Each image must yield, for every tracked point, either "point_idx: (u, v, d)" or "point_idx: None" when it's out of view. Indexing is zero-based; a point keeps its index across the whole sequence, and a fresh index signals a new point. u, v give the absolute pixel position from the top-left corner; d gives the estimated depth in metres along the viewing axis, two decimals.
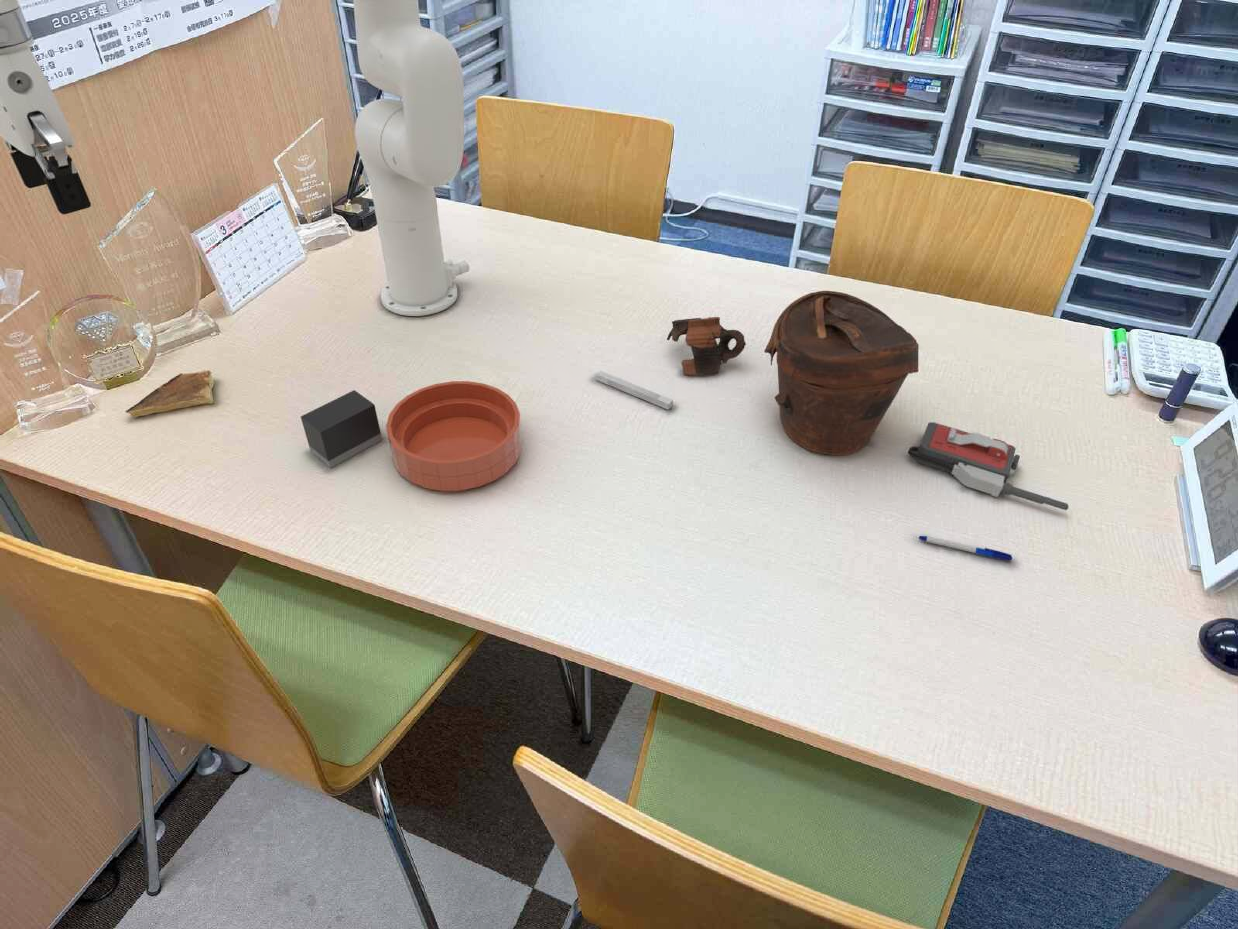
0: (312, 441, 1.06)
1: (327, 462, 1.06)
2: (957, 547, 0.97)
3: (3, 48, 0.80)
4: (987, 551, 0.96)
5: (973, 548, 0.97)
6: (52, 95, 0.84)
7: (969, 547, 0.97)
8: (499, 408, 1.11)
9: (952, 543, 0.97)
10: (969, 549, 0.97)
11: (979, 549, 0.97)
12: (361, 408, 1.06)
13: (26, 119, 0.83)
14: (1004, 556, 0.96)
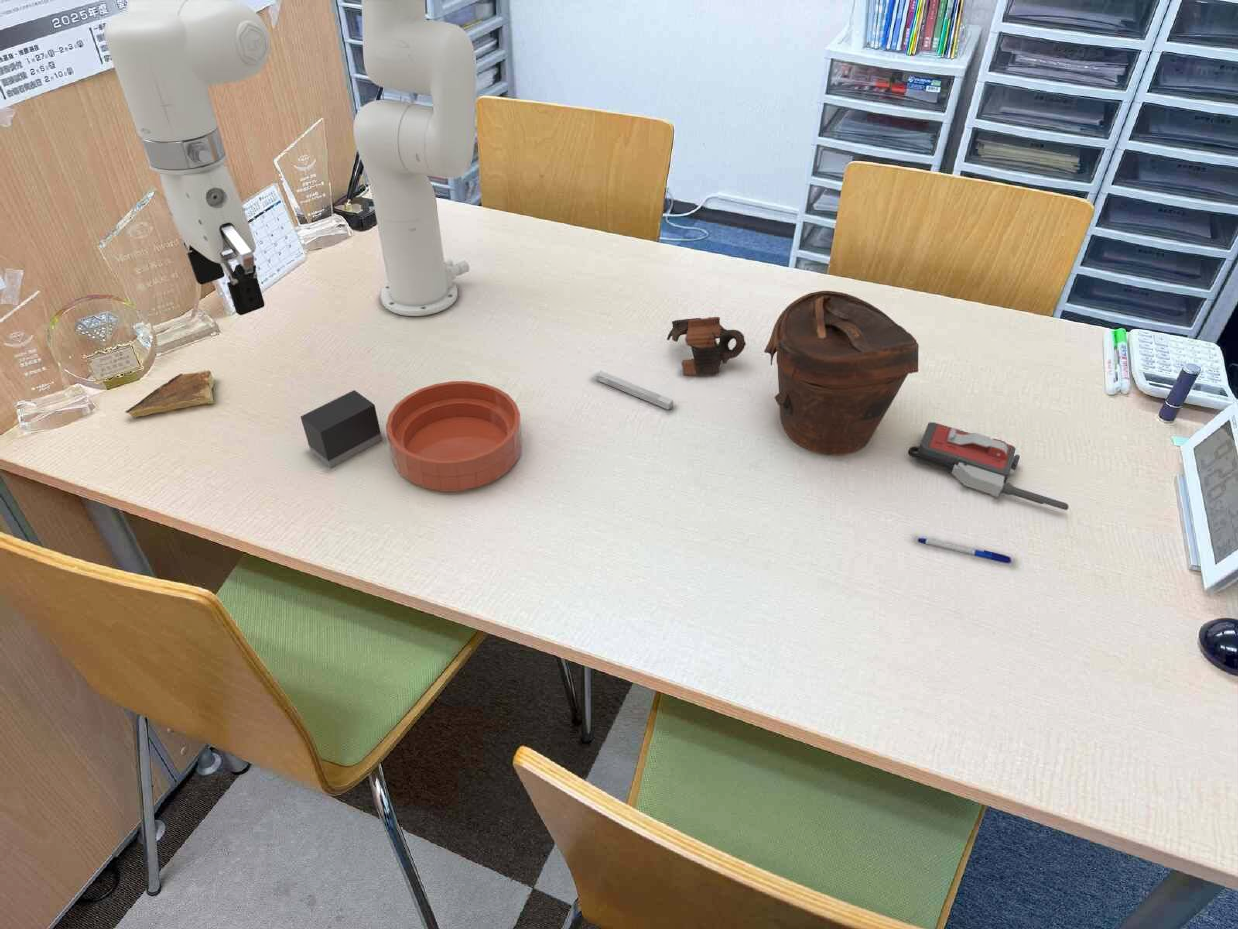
0: (312, 441, 1.06)
1: (327, 462, 1.06)
2: (956, 549, 0.97)
3: (204, 167, 0.84)
4: (986, 553, 0.97)
5: (972, 550, 0.97)
6: (242, 207, 0.88)
7: (968, 549, 0.97)
8: (499, 408, 1.11)
9: (951, 545, 0.97)
10: (968, 551, 0.97)
11: (978, 551, 0.97)
12: (361, 408, 1.06)
13: (218, 231, 0.87)
14: (1003, 558, 0.96)
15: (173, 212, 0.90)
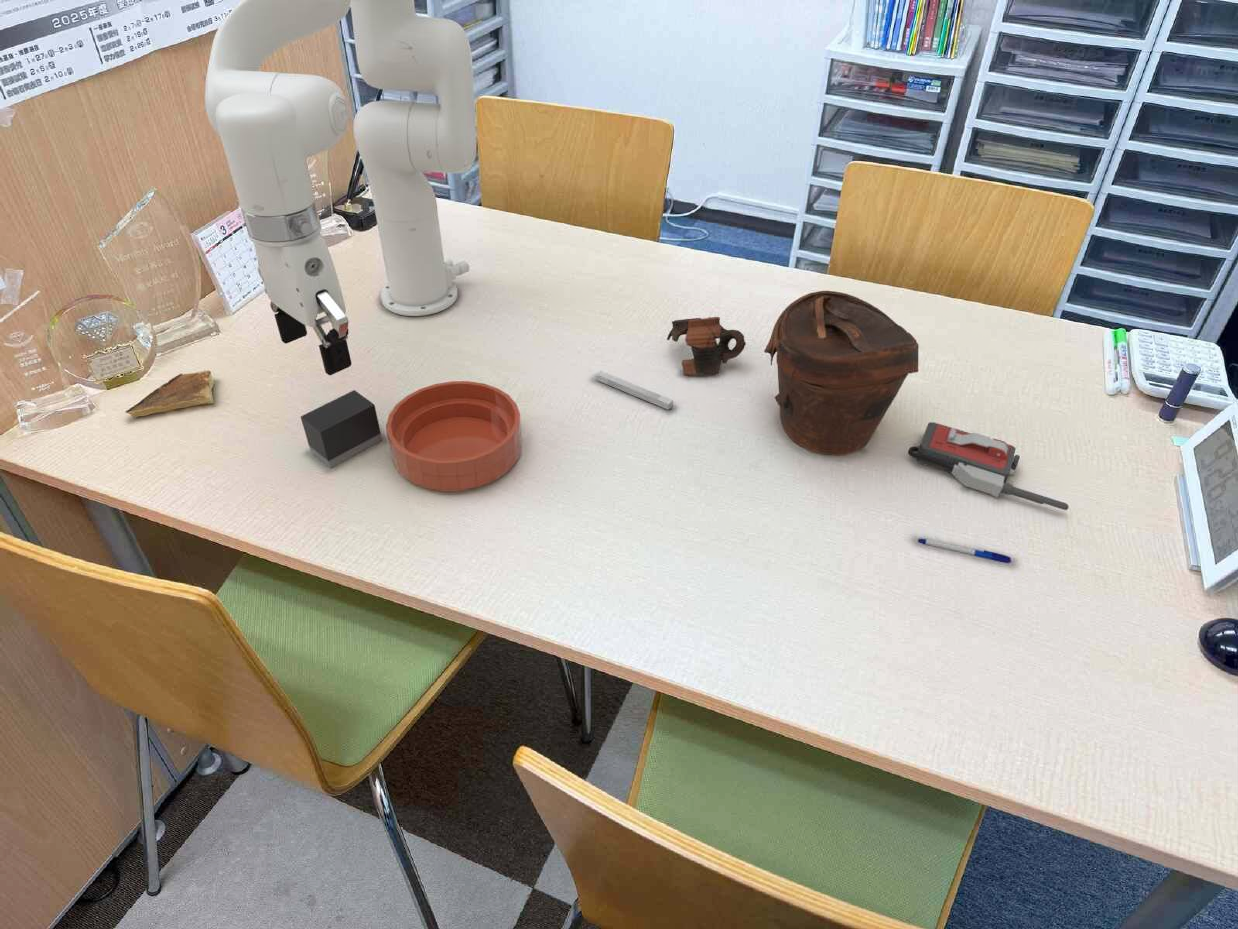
0: (312, 441, 1.06)
1: (327, 462, 1.06)
2: (956, 550, 0.97)
3: (303, 238, 0.87)
4: (986, 553, 0.97)
5: (972, 550, 0.97)
6: (335, 274, 0.91)
7: (968, 549, 0.97)
8: (499, 408, 1.11)
9: (951, 546, 0.97)
10: (968, 551, 0.97)
11: (978, 551, 0.97)
12: (361, 408, 1.06)
13: (314, 298, 0.90)
14: (1003, 558, 0.96)
15: (266, 278, 0.93)
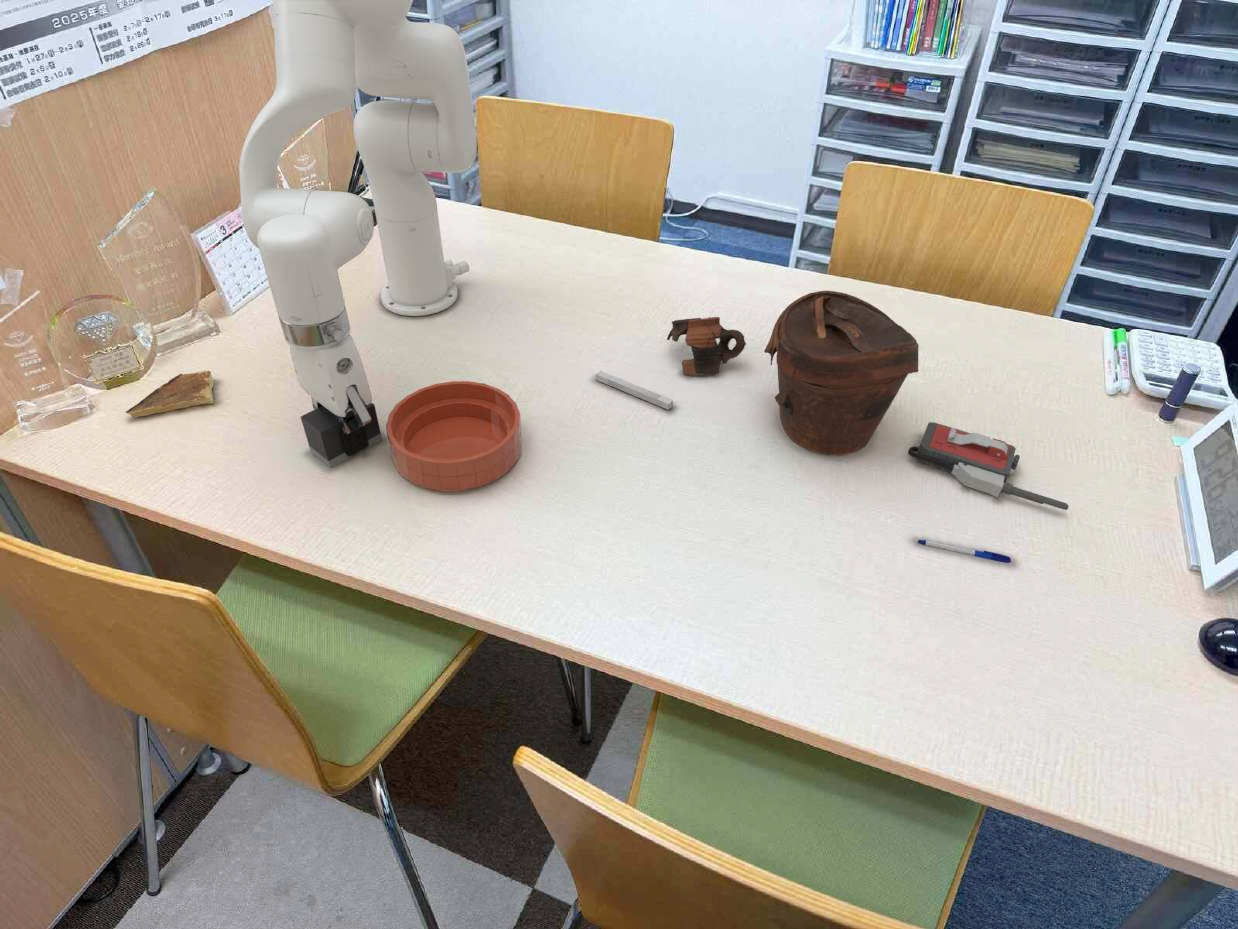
0: (312, 441, 1.06)
1: (327, 462, 1.06)
2: (956, 550, 0.97)
3: (335, 341, 0.96)
4: (986, 554, 0.97)
5: (972, 551, 0.97)
6: (363, 369, 0.99)
7: (968, 550, 0.97)
8: (499, 408, 1.11)
9: (951, 546, 0.97)
10: (968, 552, 0.97)
11: (978, 552, 0.97)
12: None
13: (344, 392, 0.98)
14: (1003, 558, 0.96)
15: (299, 371, 1.01)
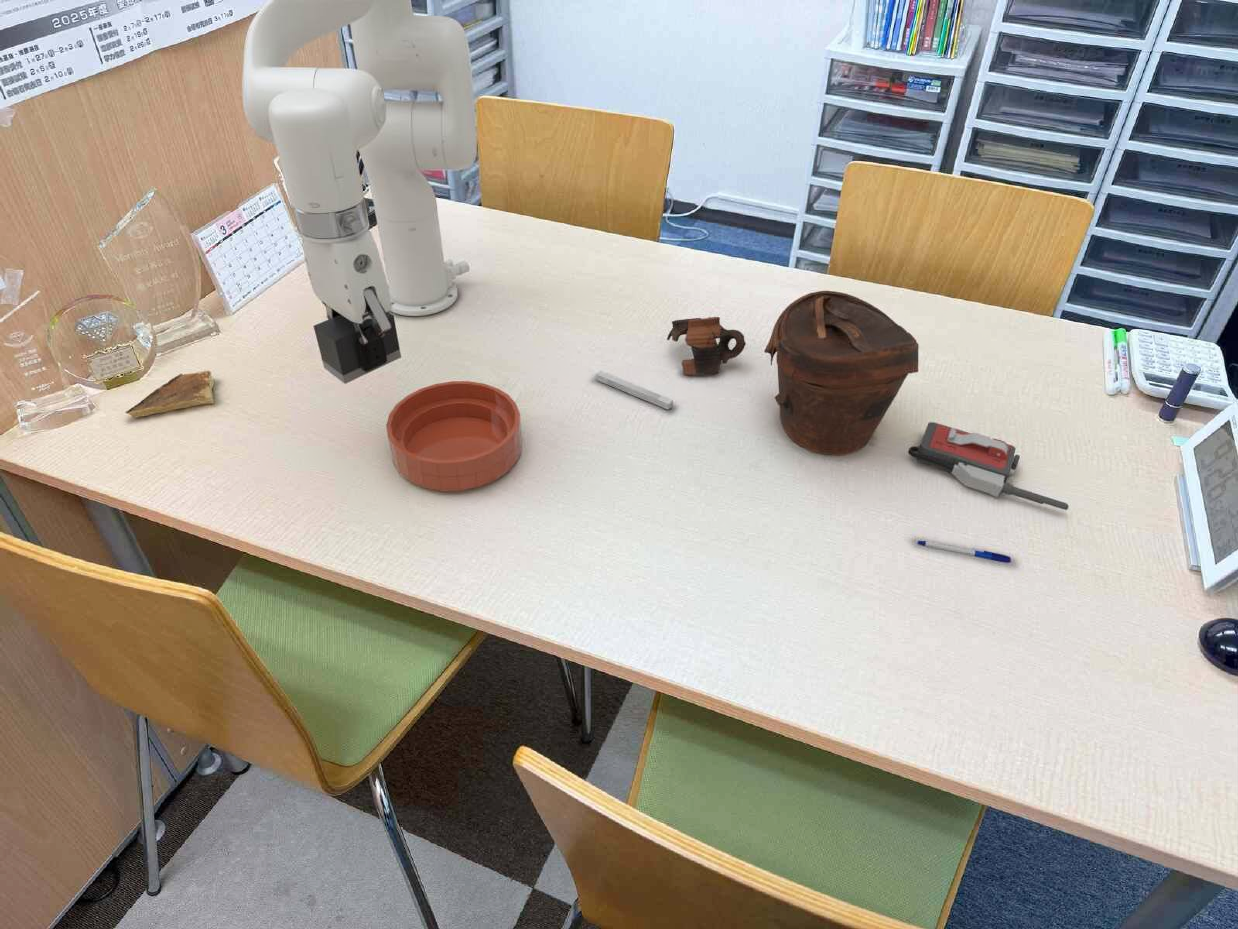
0: (325, 353, 0.97)
1: (341, 377, 0.97)
2: (956, 551, 0.97)
3: (352, 235, 0.87)
4: (986, 554, 0.96)
5: (972, 551, 0.97)
6: (383, 270, 0.91)
7: (968, 550, 0.97)
8: (499, 408, 1.11)
9: (951, 547, 0.97)
10: (968, 552, 0.97)
11: (978, 552, 0.97)
12: None
13: (362, 294, 0.90)
14: (1003, 558, 0.96)
15: (313, 274, 0.93)
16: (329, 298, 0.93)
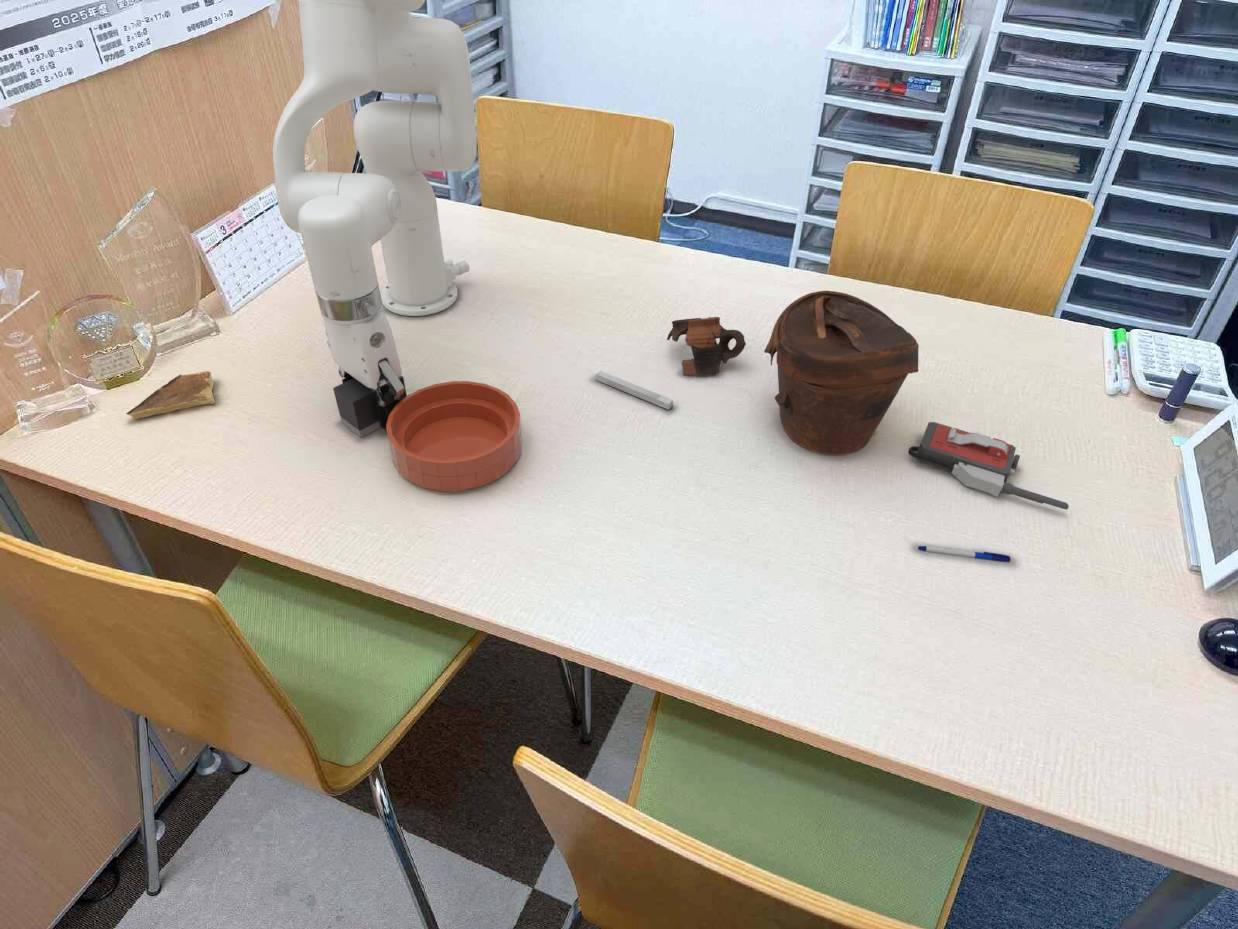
0: (343, 411, 1.10)
1: (358, 432, 1.10)
2: (957, 554, 0.97)
3: (368, 316, 1.01)
4: (986, 555, 0.96)
5: (972, 553, 0.97)
6: (394, 344, 1.05)
7: (968, 552, 0.97)
8: (499, 408, 1.11)
9: (951, 550, 0.97)
10: (968, 554, 0.97)
11: (978, 553, 0.97)
12: None
13: (377, 365, 1.04)
14: (1003, 558, 0.96)
15: (333, 346, 1.07)
16: (347, 366, 1.07)
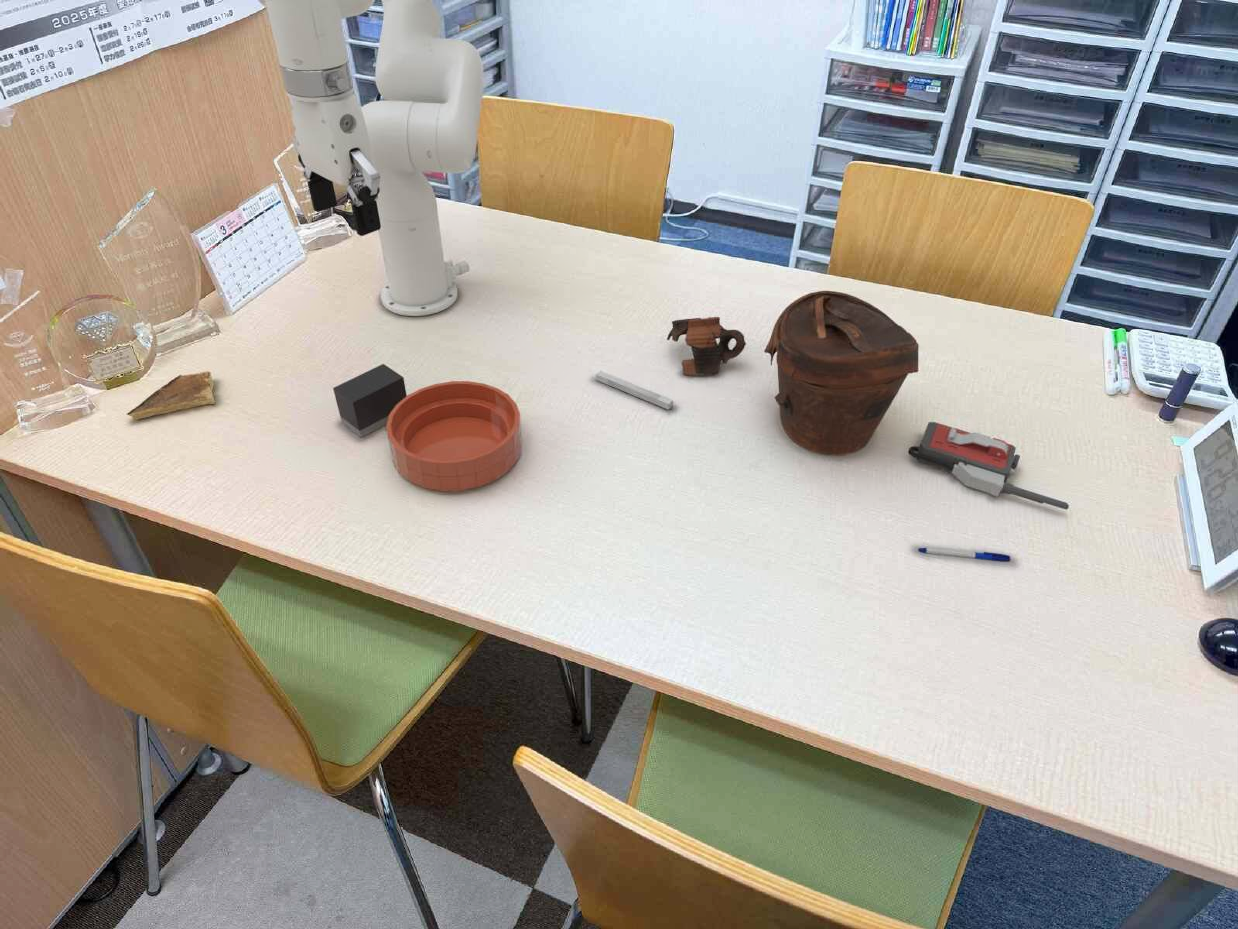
0: (343, 411, 1.10)
1: (358, 432, 1.10)
2: (957, 555, 0.97)
3: (338, 95, 0.93)
4: (986, 555, 0.96)
5: (972, 554, 0.97)
6: (367, 133, 0.97)
7: (968, 553, 0.97)
8: (499, 408, 1.11)
9: (951, 551, 0.97)
10: (969, 555, 0.97)
11: (978, 554, 0.96)
12: (391, 380, 1.10)
13: (348, 155, 0.96)
14: (1003, 557, 0.96)
15: (302, 140, 0.99)
16: (317, 163, 0.99)
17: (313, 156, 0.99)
